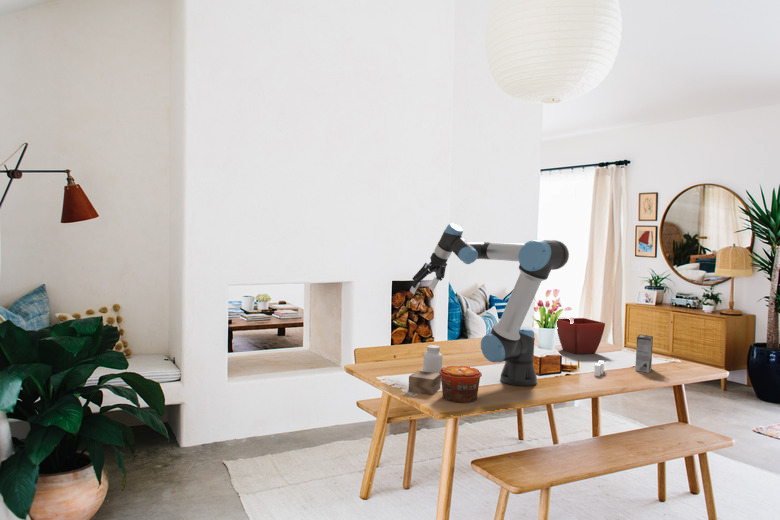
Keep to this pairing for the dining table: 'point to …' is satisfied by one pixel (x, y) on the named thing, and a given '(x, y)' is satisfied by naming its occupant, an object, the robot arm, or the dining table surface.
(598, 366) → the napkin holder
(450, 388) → the food container
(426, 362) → the pill bottle
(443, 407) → the dining table surface
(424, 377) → the walnut block
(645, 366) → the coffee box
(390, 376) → the dining table surface
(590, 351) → the plant pot
